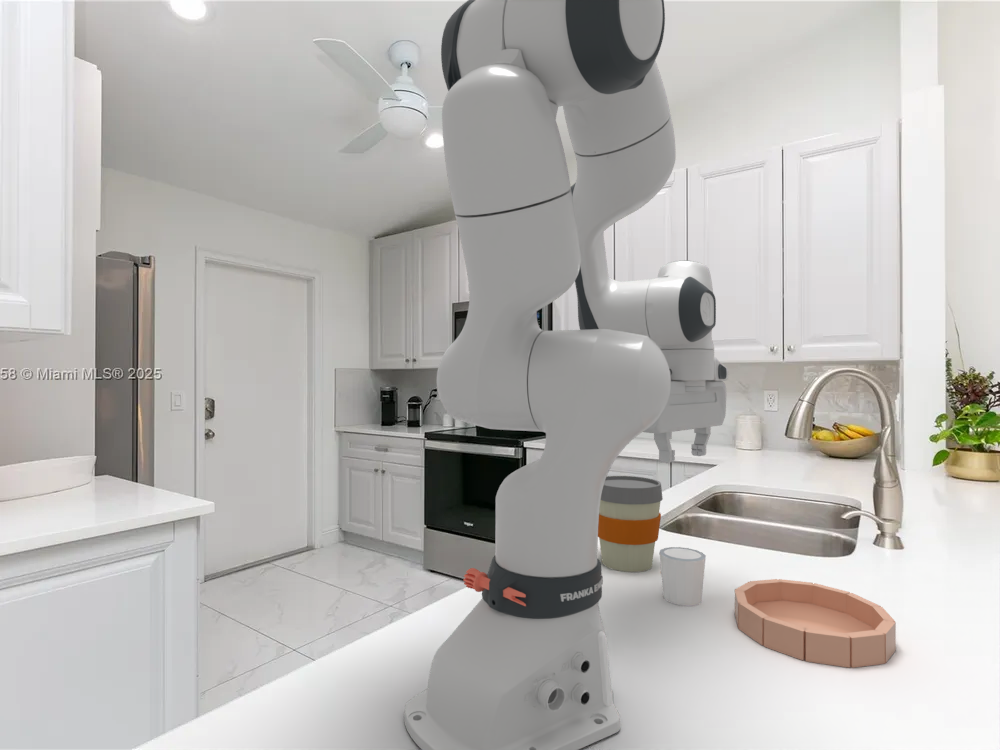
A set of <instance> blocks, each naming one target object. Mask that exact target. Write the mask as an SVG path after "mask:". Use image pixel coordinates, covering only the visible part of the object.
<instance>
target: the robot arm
mask: <svg viewBox="0 0 1000 750" xmlns="http://www.w3.org/2000/svg"><path fill="white" fill-rule="evenodd" d="M665 12H666V11H665V0H466V1H465V2H463V3H462V5H460V6H459V7H458V8H457V9H455V11H454V12H453V13H452V15H450V17H449V18H448V20H447V22H446V23H445V26H444V29H443V33H442V36H441V45H440V46H441V47H440V48H441V51H440V55H441V57H440V59H441V60H440V61H441V68H442V75H443V78H444V83H445V84H446V88H447V93H446V95H445V97H444V101H443V103H442V108H441V119H442V120H441V122H442V123H441V124H442V141H443V151H444V153H443V154H444V159H445V161H444V162H445V169H446V176H447V182H448V188H449V192H450V193H449V194H450V198H451V203H452V207H453V211H454V212H453V213H454V217H455V219H456V224H457V229H458V233H459V234H458V235H459V238H460V243H461V248H462V252H463V253H462V254H463V258H464V265H465V269H466V275H467V283H468V290H469V291H468V292H469V295H468V296H469V297H468V298H469V299H468V300H469V301H468V302H469V303H468V310H467V315H466V319H465V322H464V325H463V327H462V330H461V331H460V333H459V334H458V336H457V337H456V338H455V339H454V341H453V342H452V343H451V344H450V345H449V346H448V347H447V349H446V350H445V351H444V353H443V355H442V356H441V358H440V361H439V363H438V367H437V371H436V389H437V394H438V397H439V400H440V402H441V405H442V407H443V408H444V410H445V411H446V412H447V414H448V415H449V416H450V417H451V418H452V419H454V420H457V421H459V422H463V423H467V424H469V425H474V426H477V427H481V428H484V429H489V430H500V431H502V430H503V431H521V432H522V431H523V432H525V431H526V432H541V433H545V444H544V449H543V452H542V454H541V456H540V458H539V459H537V460H534V461H532V462H530V463H527V464H526V465H524V466H522V467H520V468H518V469H516V470H514V471H513V472H511V473H510V474H508V475H507V476H505V478H504V479H503V481H502V482H501V484H500V485H499V487H498V490H497V492H496V495H495V544H494V545H495V548H494V549H495V551H494V552H495V555H494V556H493V557H492V559H491V561H490V564H489V568H488V571H487V573H486V572H485V571H480V570H479V569H477V568H474V567H471V568H468V569H467V570H466V571H465V574H464V575H463V585H465V587H466V588H468V589H471V590H472V589H473V590H474V591H475V592H478V593H481V599H480V600H479V601H478V603H476V605H475V606H474V607H473V608H472V610H470V612H469V613H468V614H467V615H466V617H465V618H463V620H462V621H461V622H460V624H459V625H458V626H457V627H456V628H455V629H454V631H452V633H451V634H450V635H449V636H448V637H447V639H445V641H444V642H443V643H442V644H441V645H440V646H439V647H438V648H437V650H436V651H435V653H434V656H433V658H432V662H431V664H430V670H429V676H428V682H427V683H428V686H427V688H426V689H425V690H423V691H421V692H420V693H418V694H417V695H415V696H414V697H412V698H411V699H410V700H408V701H407V702H406V703H405V705H404V712H403V713H404V714H403V721H404V724H405V725H404V727H405V728H406V730H407V732H408V735H409V736H410V738H411V739H412V740H413V742H414V743H415V744H416V745H417V746H418V747H419V748H420V750H581V749H583V748H586V747H587V746H589V745H591V744H594V743H597V742H599V741H600V740H603V739H606V738H608V737H610V736H611V735H612V736H613V735H614V734H616V733H618V732H619V731H620V730H621V716H620V713H619V712H618V709H617V707H616V706H615V704H614V692H613V689H612V677H611V668H610V656H609V650H608V649H609V648H608V640H607V634H606V631H605V628H604V625H603V620H602V616H601V612H600V606H599V602H600V600H601V599H602V596H603V587H602V586H603V582H604V578H603V573H602V572H603V571H602V561H600V559H599V557H598V546H599V545H598V543H599V542H598V541H599V537H598V523H599V510H600V500H601V494H602V489H603V486H604V482H605V479H606V477H607V476H608V474H609V472H610V470H611V468H612V466H613V464H614V462H615V461H616V460H617V458H618V456H619V455H620V454H621V452H622V451H624V449H625V448H626V447H627V445H629V444H630V443H631V441H633V440H634V439H635V438H636V437H638V436H639V435H640V434H641V433H646V434H647V433H648V434H653V440H654V442H655V445H656V447H657V449H658V460H659V462H661V463H666V464H667V463H669V464H670V463H672V462H675V460H676V458H675V455H676V453H675V452H676V450H675V449H672V445H671V441H670V440H672V438H673V437H672V434H673V432H681V431H688V430H689V431H690V430H694V431H693V433H694V434H695V437H694V443H692V444H691V447H690V448H691V455H692V456H694V457H695V456H696V457H704V456H706V454H707V445H708V442H709V439H710V436H711V433H712V432H711V429H712V428H711V427H718V426H719V427H720V426H722V425H723V423H724V421H725V418H726V414H727V413H726V411H727V387H726V384H725V382H724V381H727V380H729V368H728V367H727V366H726V365H725V364H723V363H722V362H720V361H719V359H718V358H717V357H715V345H714V342H713V335H712V331H713V329H714V328H715V326H716V320H717V319H716V318H717V316H716V314H717V313H716V311H717V308H716V307H717V306H716V304H717V301H716V296H715V293H714V290H713V282H712V277H711V272H710V271H711V270H710V268H709V267H708V266H707V265H706V264H705V263H702V262H700V261H696V260H695V261H694V260H687V259H686V260H685V259H684V260H675V261H670V262H668V263H665V264H663V265H662V266H661V267H660V268H659V270H658V274H657V277H655V278H647V279H636V280H628V281H625V280H624V281H621V280H620V281H619V280H615V279H613V278H611V277H610V275H609V270H608V262H607V252H606V251H607V250H606V246H605V237H604V236H605V232H606V230H607V229H608V228H610V227H611V226H613V225H614V224H615V223H618V222H619V221H620V220H622V219H624V218H625V217H628V216H629V215H631V214H633V213H635V212H636V211H639V210H640V209H641V208H642V207H645V206H646V204H648V203H649V202H650V201H651V200H653V199H654V198H655V196H657V194H658V193H659V192H660V191H661V190H662V189H663V188H664V186H665V184H666V183H667V182H668V181H669V179H670V177H671V174H672V173H673V170H674V167H675V164H676V160H677V159H676V157H677V155H676V154H677V152H676V140H675V138H676V137H675V131H674V125H673V119H672V115H671V108H670V106H669V101H668V97H667V93H666V90H665V86H664V82H663V79H662V76H661V74H660V70H659V67H658V64H657V62H656V59H657V57H658V55H659V53H660V49H661V47H662V43H663V39H664V33H665V24H666V23H665V21H666V17H665V16H666V15H665V14H666V13H665ZM560 107H562V108H563V114H564V118H565V123H566V127H567V132H568V136H569V139H570V142H571V145H572V149H573V153H574V156H575V160H576V173H577V174H576V180H575V182H574V183H573V184H572V185H571V180H570V174H569V170H568V164H567V159H566V154H565V150H564V145H563V141H562V137H561V134H560V133H561V132H560V129H559V127H558V124H557V114H558V110H559V108H560ZM573 284H574V285H575V289H576V297H577V299H576V300H577V317H578V318H577V320H578V327H579V329H567V330H566V329H565V330H564V329H563V330H547V329H542V328H540V325H539V323H538V315H537V312H538V311H540V310H541V309H543V308H545V307H546V306H548V305H550V304H551V303H553V302H554V301H556V300H557V299H559V298H560V297H561V296H563V295H564V294H565V293H566V292H567V291H568V290H569V289H570V288H571V287H572V286H573Z"/></svg>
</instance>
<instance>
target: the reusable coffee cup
mask: <svg viewBox="0 0 1000 750" xmlns="http://www.w3.org/2000/svg"><path fill="white" fill-rule="evenodd" d="M662 490H663V489H662V482H661V481H659V480H657V479H654V478H649V477H643V476H634V475H607V477H606V479H605V482H604V486H603V489H602V494H601V500H600V510H599V523H598V541H599V548H600V554H601V555H600V556H601V564H603V566H605V567H607V568H609V569H612V570H614V571H618V572H619V571H620V572H624V573H625V572H626V573H627V572H628V573H640V572H645V571H648V570H650V569H652V567H653V561H654V553H655V544H656V542H657V541H658V540H659V533H660V526H661V525H660V524H661V519H662V513H661V512H660V509H661V501H663V491H662Z"/></svg>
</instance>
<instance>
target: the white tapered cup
mask: <svg viewBox="0 0 1000 750" xmlns="http://www.w3.org/2000/svg"><path fill="white" fill-rule="evenodd" d="M706 557H707V555H706V554H705V553H704V552H701V551H699V550H697V549H693V548H689V547H681V546H678V547H677V546H676V547H675V546H671V547H670V546H669V547H663V548H662V549H660V550H659V562H660V563H659V564H660V573H661V574H660V576H661V577H660V578H661V587H662V597H663V599H664V600H665V601H667V602H668V603H670V604H673V605H676V606H682V607H696V606H699V605H700V604H702V598H703V588H704V587H703V586H704V578H705V567H706V559H707V558H706Z"/></svg>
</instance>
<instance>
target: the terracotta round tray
mask: <svg viewBox="0 0 1000 750" xmlns="http://www.w3.org/2000/svg"><path fill="white" fill-rule="evenodd" d="M734 617H735V621H736V625H737V629H738V630H739V631H740V632H742V633H743V634H744V635H747V636H748V637H749V638H751V639H752V640H753V641H755V642H756V643H757V644H759V645H761V646H763V647H764V648H768V649H770V650H772V651H775V652H778V653H780V654H784V655H786V656H789V657H792V658H794V659H798V660H800V661H804V660H805V662H806V663H807V662H808V663H815V664H821V665H828V666H829V665H830V666H836V667H842V668H849V669H850V668H863V667H869V666H879V665H884V664H887V662H889V660H890V659H891V657H892V656H893V654H894V653H895V652H896V649H897V648H896V643H897V641H896V640H897V639H896V637H897V634H896V633H897V631H896V628H897V627H896V626H897V625H896V623H897V622H896V621H895V619H894V618H893V617H892V616H891V615H890V614H889V613H888V612H887V611H886V610H885V608H884V607H883V606H881V605H879V604H877V603H875V602H872V601H870V600H868V599H866V598H864V597H862V596H859V595H858V594H855V593H853V592H850V591H846V590H843V589H839V588H836V587H832V586H828V585H824V584H819V583H817V582H815V583H814V582H808V581H801V580H800V581H799V580H790V579H782V578H779V579H777V578H771V579H762V580H761V579H760V580H750V581H747V582H745V583H744V584H742V585H740V586H738V587H736V588H735V589H734Z"/></svg>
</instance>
